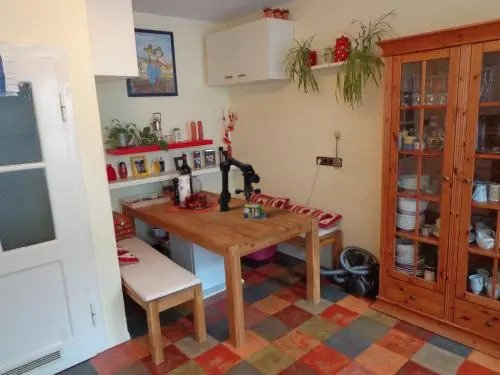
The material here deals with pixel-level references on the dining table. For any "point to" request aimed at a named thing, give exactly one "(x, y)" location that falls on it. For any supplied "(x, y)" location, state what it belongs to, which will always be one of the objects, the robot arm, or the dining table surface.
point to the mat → (263, 217)
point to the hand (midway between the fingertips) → (248, 202)
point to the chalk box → (253, 211)
